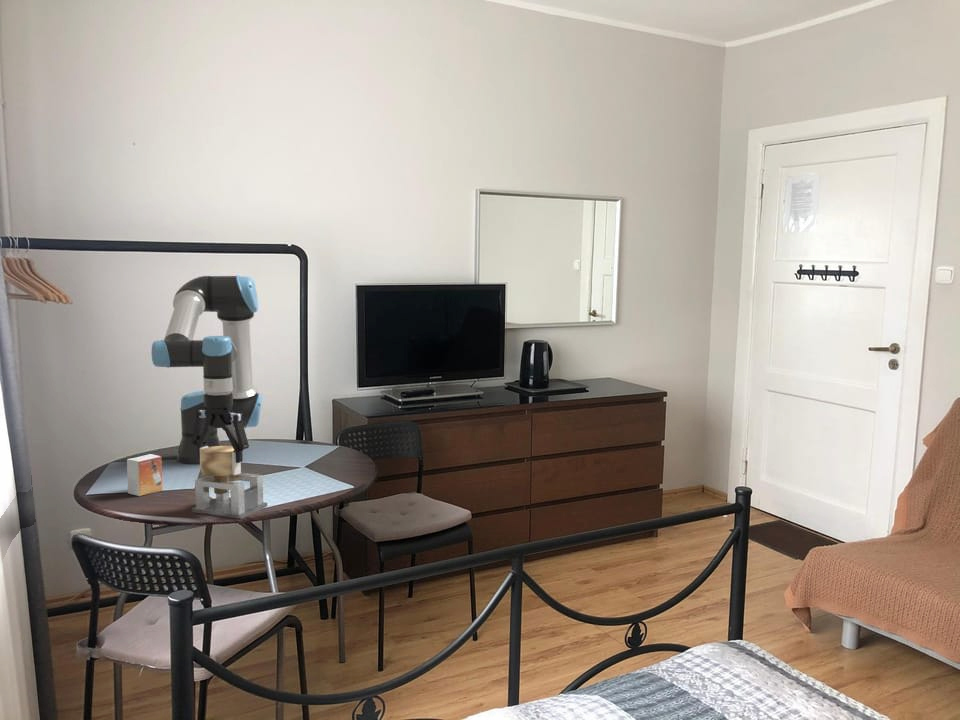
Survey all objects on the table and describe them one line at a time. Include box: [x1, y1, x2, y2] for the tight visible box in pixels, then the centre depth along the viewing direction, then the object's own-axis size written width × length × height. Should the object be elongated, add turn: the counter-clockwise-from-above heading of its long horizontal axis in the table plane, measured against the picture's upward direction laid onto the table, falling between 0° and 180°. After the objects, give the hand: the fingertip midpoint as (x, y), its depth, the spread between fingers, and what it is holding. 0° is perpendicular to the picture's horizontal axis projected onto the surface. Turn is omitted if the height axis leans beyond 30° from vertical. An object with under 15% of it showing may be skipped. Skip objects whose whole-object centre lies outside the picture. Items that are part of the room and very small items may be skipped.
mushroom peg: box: [200, 445, 234, 495], centre depth 217 cm, size 10×10×12 cm
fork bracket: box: [191, 472, 268, 520], centre depth 217 cm, size 16×12×9 cm
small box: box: [126, 453, 163, 497], centre depth 232 cm, size 8×6×10 cm
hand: (220, 471), depth 217 cm, fingers closed on mushroom peg, 10 cm apart
